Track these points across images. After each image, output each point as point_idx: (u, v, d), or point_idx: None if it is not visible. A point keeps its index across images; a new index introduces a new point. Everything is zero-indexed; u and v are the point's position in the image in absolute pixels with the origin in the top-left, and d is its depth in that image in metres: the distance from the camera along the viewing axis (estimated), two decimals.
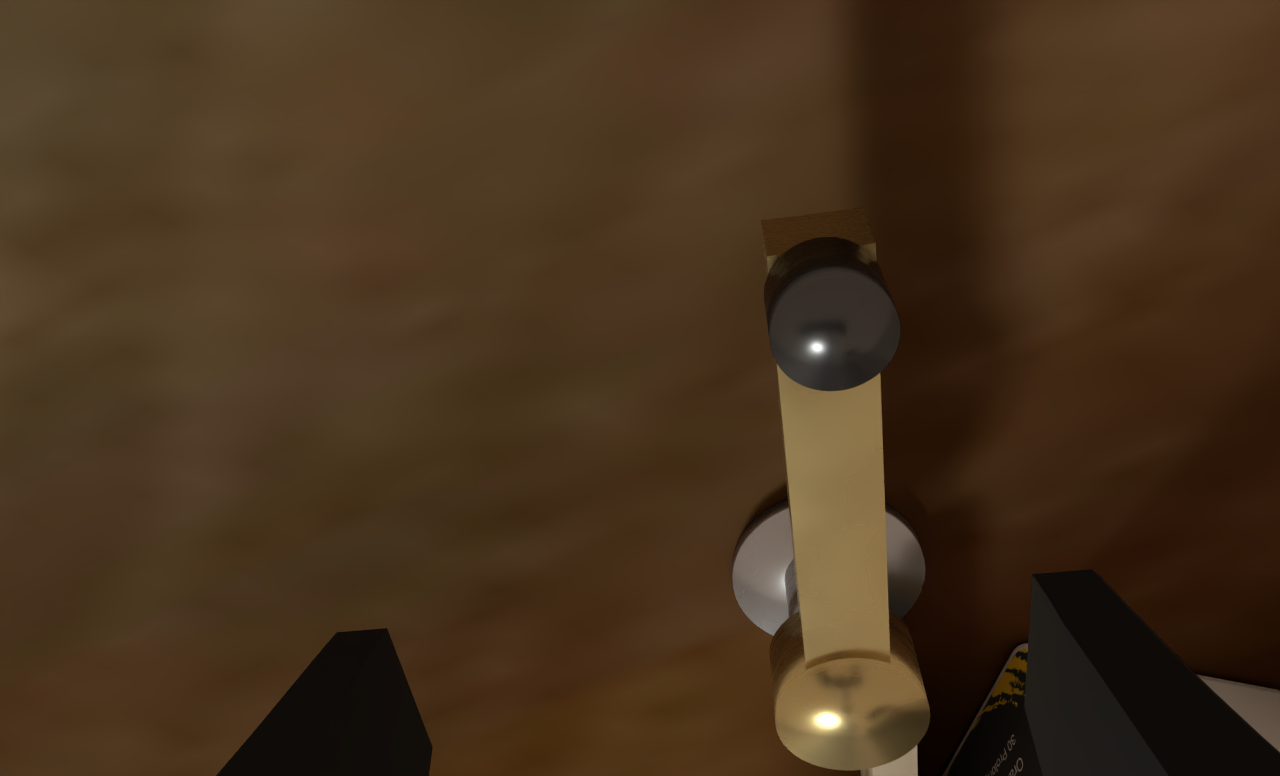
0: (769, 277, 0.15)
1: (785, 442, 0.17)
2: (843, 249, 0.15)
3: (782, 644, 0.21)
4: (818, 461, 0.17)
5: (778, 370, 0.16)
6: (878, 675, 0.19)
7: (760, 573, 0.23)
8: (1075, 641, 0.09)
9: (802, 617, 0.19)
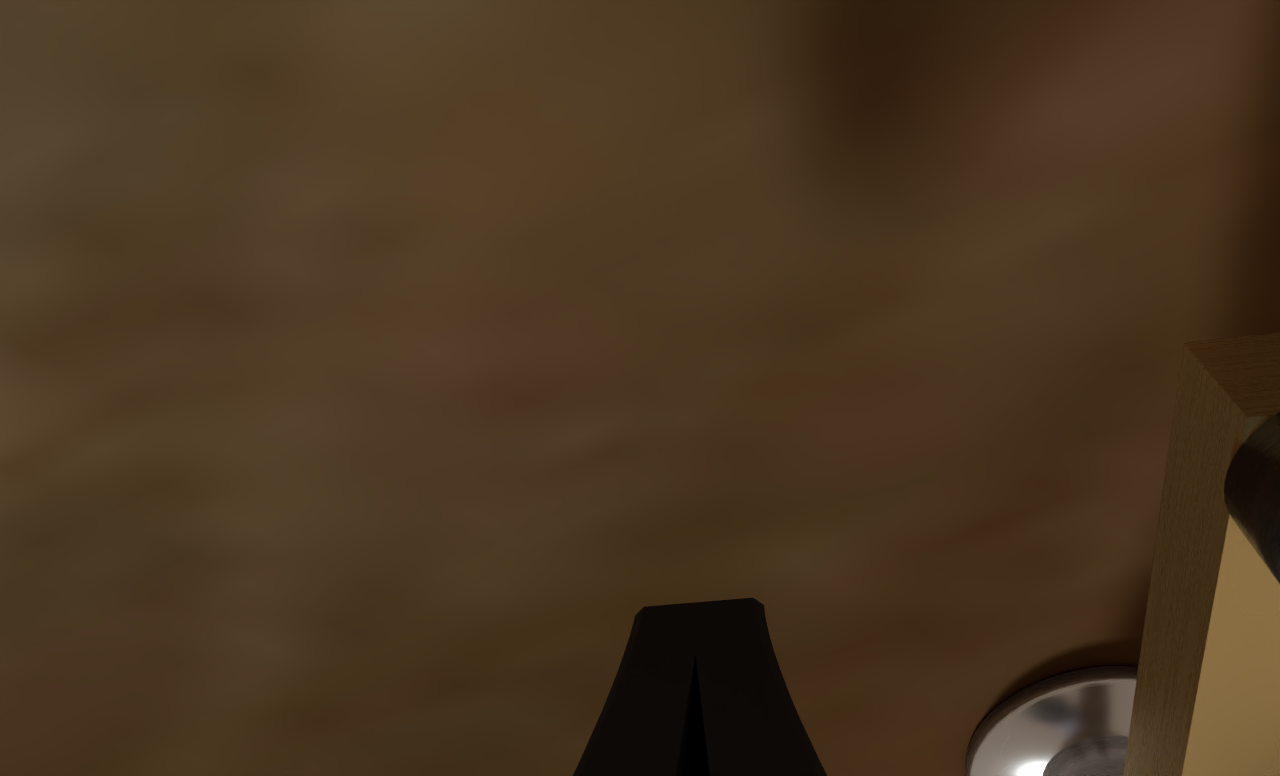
0: (1251, 452, 0.09)
1: (1199, 680, 0.11)
2: None
3: None
4: (1245, 707, 0.11)
5: (1218, 583, 0.10)
6: None
7: (1010, 768, 0.17)
8: (699, 669, 0.10)
9: None
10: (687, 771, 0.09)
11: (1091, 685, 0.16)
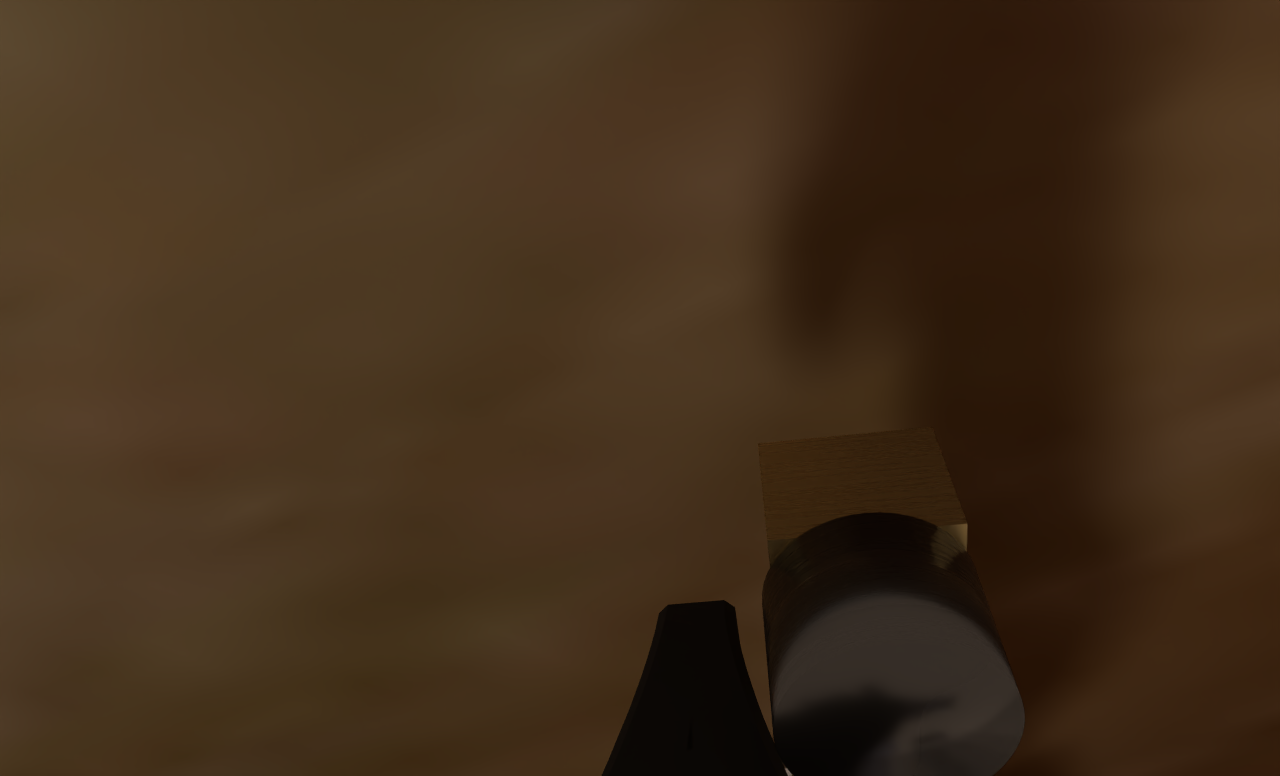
0: (772, 578, 0.08)
1: None
2: (911, 548, 0.08)
3: None
4: None
5: None
6: None
7: None
8: (668, 672, 0.10)
9: None
10: None
11: None
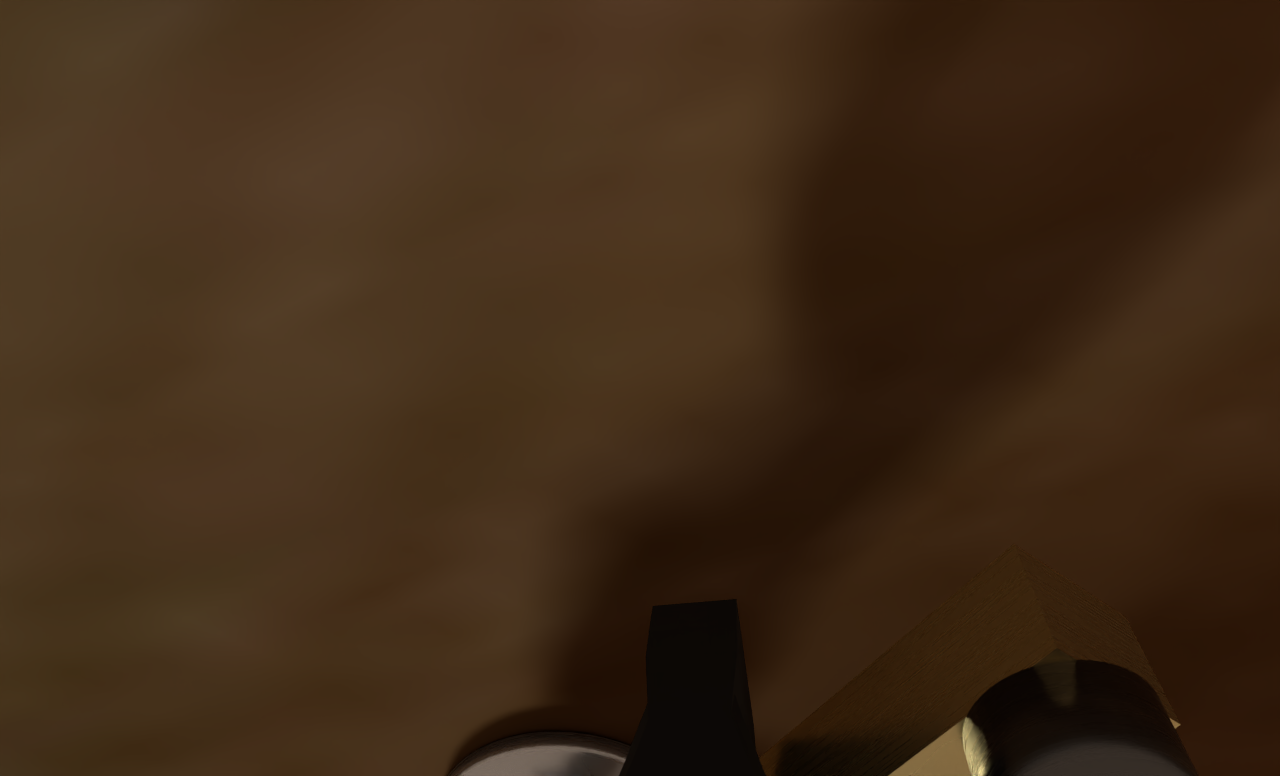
0: (1039, 679, 0.09)
1: None
2: (1173, 728, 0.09)
3: None
4: None
5: (902, 766, 0.10)
6: None
7: None
8: (649, 673, 0.10)
9: None
10: None
11: (520, 752, 0.16)
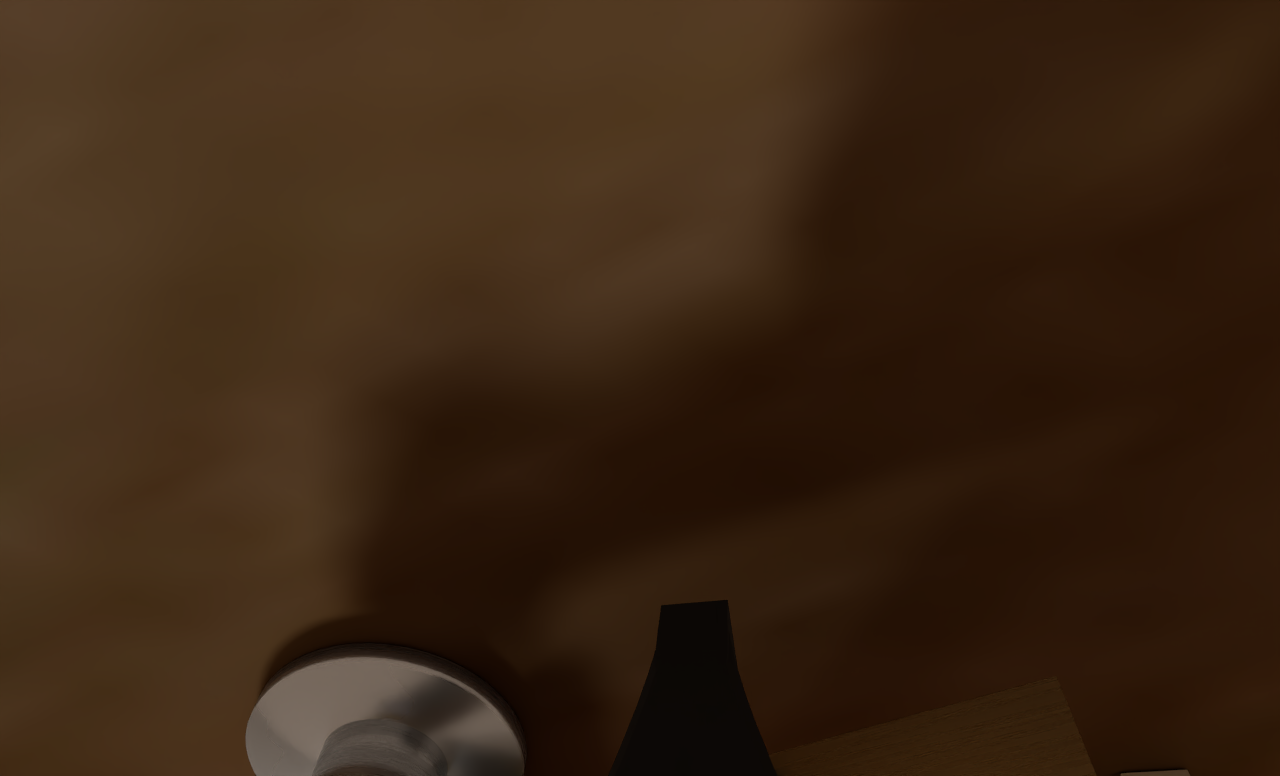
0: None
1: None
2: None
3: None
4: None
5: None
6: None
7: (287, 755, 0.16)
8: (659, 673, 0.10)
9: None
10: None
11: (325, 664, 0.15)
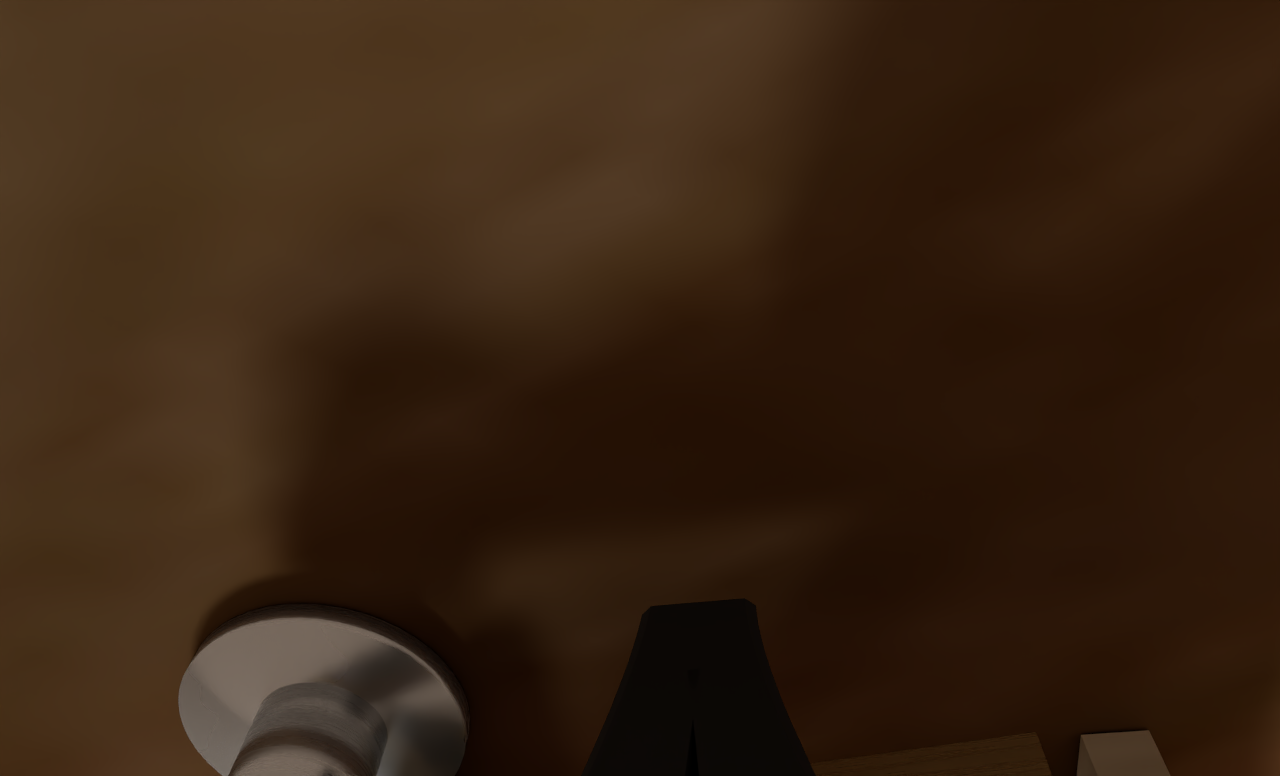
0: None
1: None
2: None
3: None
4: None
5: None
6: None
7: (221, 721, 0.16)
8: (690, 670, 0.10)
9: None
10: (695, 771, 0.09)
11: (255, 624, 0.15)
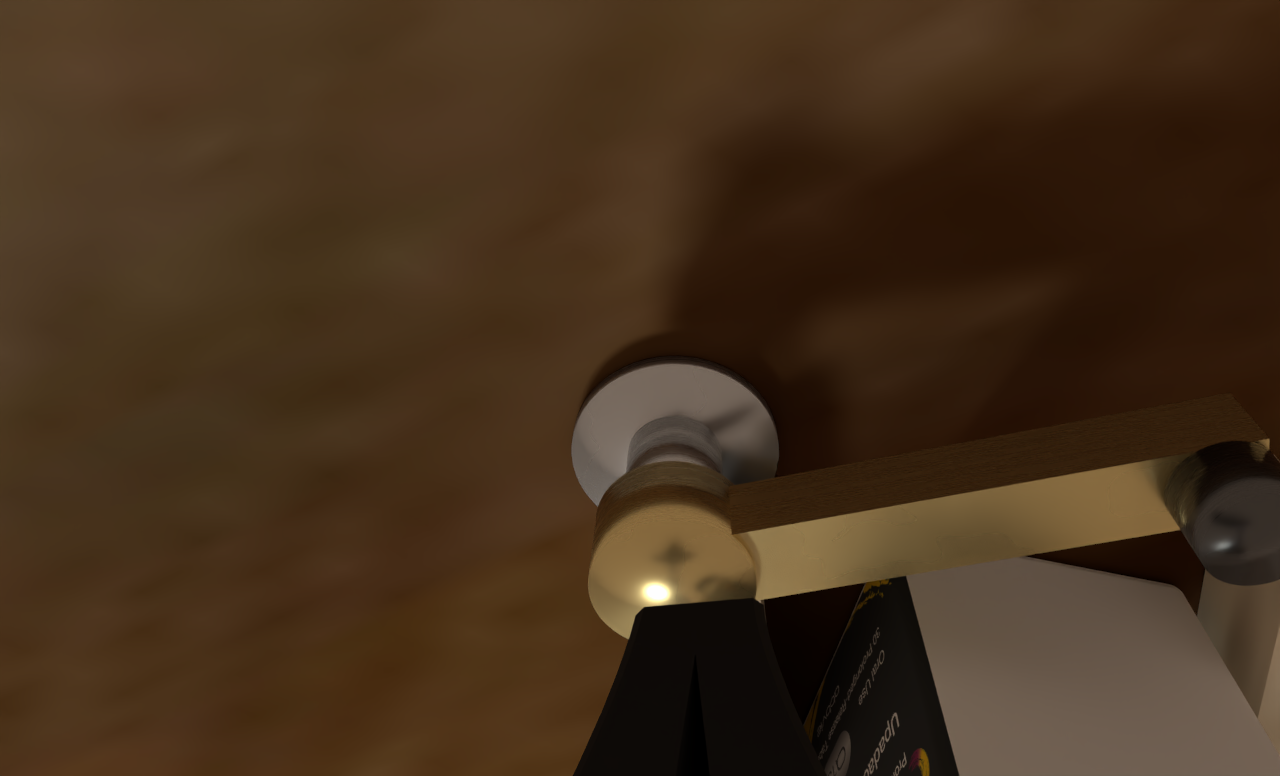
0: (1255, 448, 0.16)
1: (1048, 478, 0.17)
2: None
3: (703, 482, 0.18)
4: (1024, 508, 0.17)
5: (1139, 463, 0.17)
6: None
7: (601, 450, 0.22)
8: (700, 670, 0.10)
9: (810, 521, 0.17)
10: (687, 771, 0.09)
11: (645, 368, 0.21)
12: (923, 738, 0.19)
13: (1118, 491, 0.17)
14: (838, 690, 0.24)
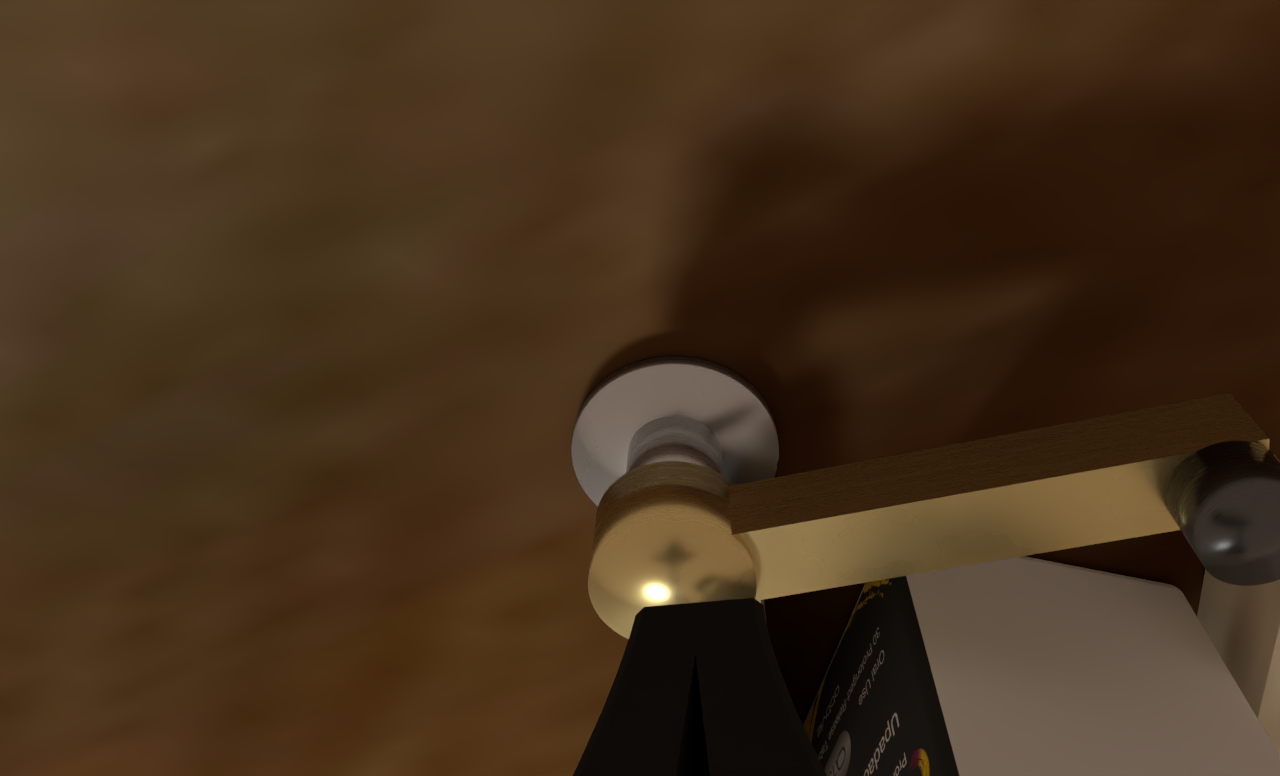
0: (1255, 448, 0.16)
1: (1048, 478, 0.17)
2: None
3: (703, 482, 0.18)
4: (1024, 508, 0.17)
5: (1139, 463, 0.17)
6: None
7: (601, 450, 0.22)
8: (700, 670, 0.10)
9: (810, 521, 0.17)
10: (687, 771, 0.09)
11: (645, 368, 0.21)
12: (924, 738, 0.19)
13: (1118, 491, 0.17)
14: (838, 690, 0.24)
